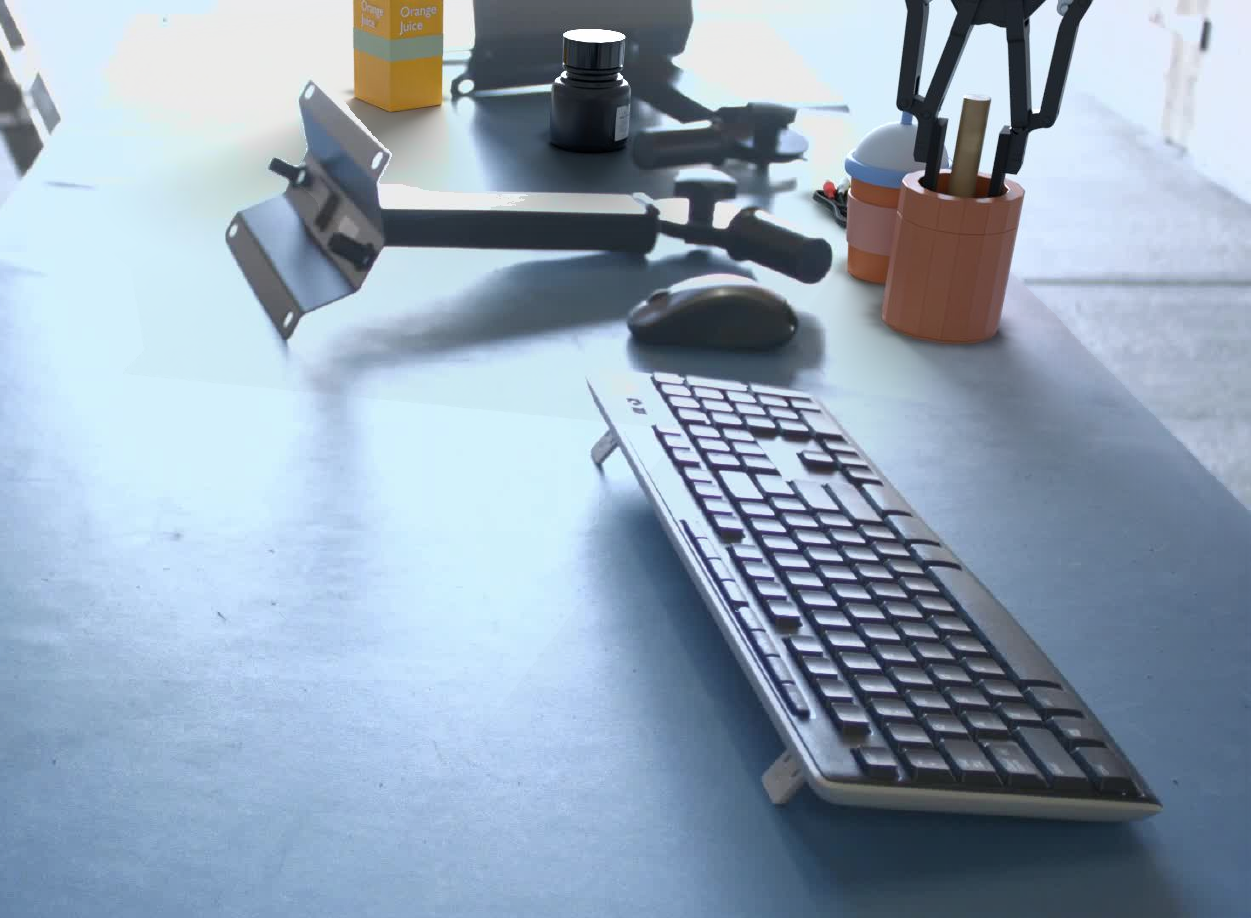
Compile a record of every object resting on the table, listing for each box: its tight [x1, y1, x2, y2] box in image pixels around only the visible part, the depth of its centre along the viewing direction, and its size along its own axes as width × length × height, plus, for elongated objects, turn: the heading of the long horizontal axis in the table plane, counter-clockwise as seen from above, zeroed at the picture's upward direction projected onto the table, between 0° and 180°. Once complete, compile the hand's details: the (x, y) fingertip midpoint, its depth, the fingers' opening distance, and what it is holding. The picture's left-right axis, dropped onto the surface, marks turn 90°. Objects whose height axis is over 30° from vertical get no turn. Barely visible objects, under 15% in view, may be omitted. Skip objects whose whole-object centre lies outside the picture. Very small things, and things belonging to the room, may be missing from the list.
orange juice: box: [352, 0, 444, 113], centre depth 184 cm, size 8×9×20 cm
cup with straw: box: [844, 111, 953, 285], centre depth 130 cm, size 9×9×18 cm
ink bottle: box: [548, 29, 632, 152], centre depth 170 cm, size 10×9×12 cm
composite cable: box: [811, 176, 851, 228], centre depth 150 cm, size 10×5×2 cm, turn 168°
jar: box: [880, 169, 1026, 345], centre depth 121 cm, size 9×9×12 cm
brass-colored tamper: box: [947, 93, 992, 198], centre depth 119 cm, size 4×4×18 cm
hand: (959, 207), depth 119 cm, fingers open, 4 cm apart
